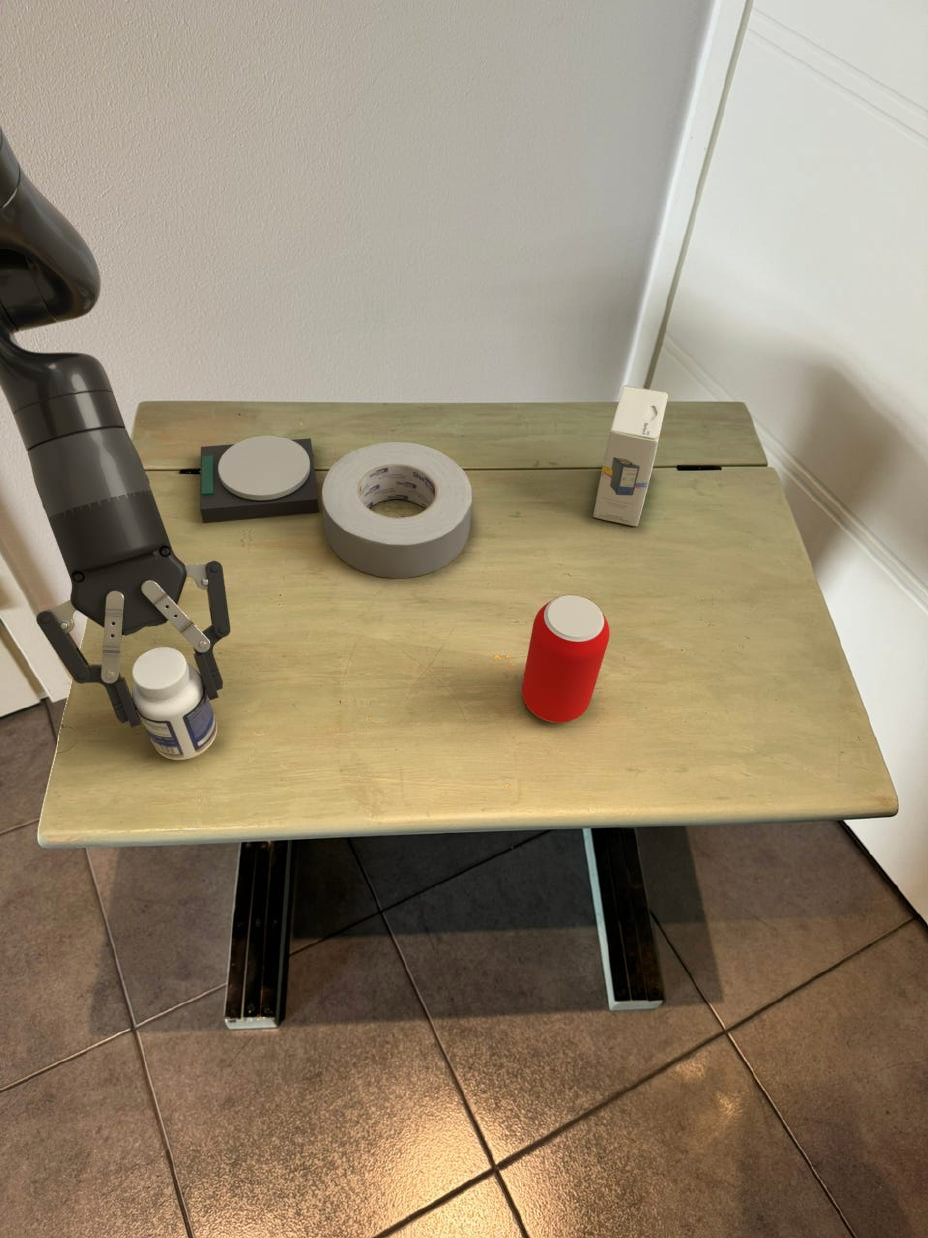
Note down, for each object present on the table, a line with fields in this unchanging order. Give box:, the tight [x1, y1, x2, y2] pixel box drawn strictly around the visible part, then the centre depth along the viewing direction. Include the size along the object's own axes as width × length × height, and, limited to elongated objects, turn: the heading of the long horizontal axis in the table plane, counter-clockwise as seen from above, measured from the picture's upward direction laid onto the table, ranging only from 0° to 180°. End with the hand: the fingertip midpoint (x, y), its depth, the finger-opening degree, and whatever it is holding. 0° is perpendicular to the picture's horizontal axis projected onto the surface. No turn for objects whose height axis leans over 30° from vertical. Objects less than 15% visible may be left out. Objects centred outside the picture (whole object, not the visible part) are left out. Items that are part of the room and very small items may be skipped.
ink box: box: [593, 384, 669, 527], centre depth 88 cm, size 9×5×12 cm, turn 164°
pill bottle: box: [131, 646, 218, 761], centre depth 67 cm, size 5×5×10 cm
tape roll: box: [321, 441, 473, 579], centre depth 86 cm, size 15×15×5 cm
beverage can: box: [521, 594, 611, 723], centre depth 71 cm, size 6×6×12 cm
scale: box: [199, 435, 320, 524], centre depth 90 cm, size 12×10×3 cm
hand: (175, 710), depth 65 cm, fingers closed on pill bottle, 5 cm apart
